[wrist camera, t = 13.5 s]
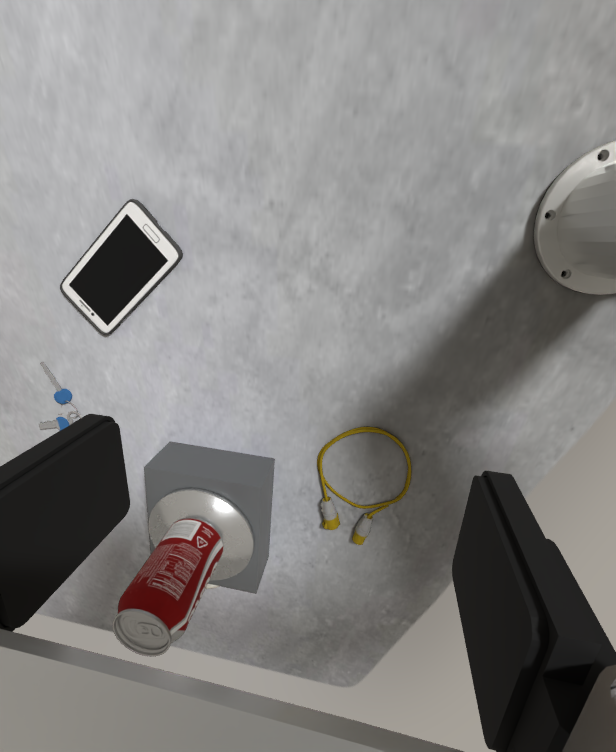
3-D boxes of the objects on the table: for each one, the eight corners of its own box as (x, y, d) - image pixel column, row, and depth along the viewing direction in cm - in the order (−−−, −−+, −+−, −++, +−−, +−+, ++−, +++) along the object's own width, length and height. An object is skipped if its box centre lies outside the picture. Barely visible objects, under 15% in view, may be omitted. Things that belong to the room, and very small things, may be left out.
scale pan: (256, 498, 43) (254, 502, 42) (252, 584, 47) (250, 589, 46) (148, 478, 44) (145, 482, 43) (155, 563, 49) (151, 568, 48)
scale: (274, 458, 48) (260, 489, 42) (268, 560, 53) (255, 600, 48) (169, 441, 49) (142, 469, 43) (174, 542, 55) (150, 578, 49)
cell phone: (187, 254, 41) (183, 254, 40) (110, 336, 46) (104, 338, 45) (136, 195, 40) (131, 194, 39) (62, 286, 45) (56, 287, 44)
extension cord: (283, 489, 50) (279, 499, 48) (359, 405, 44) (358, 413, 42) (356, 542, 51) (355, 554, 49) (439, 467, 45) (442, 476, 43)
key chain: (120, 441, 51) (117, 444, 50) (85, 469, 54) (81, 472, 53) (45, 359, 49) (40, 361, 48) (12, 393, 51) (6, 395, 51)
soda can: (169, 509, 44) (100, 600, 33) (224, 517, 43) (172, 613, 32) (174, 554, 47) (111, 653, 35) (227, 563, 46) (179, 667, 34)
